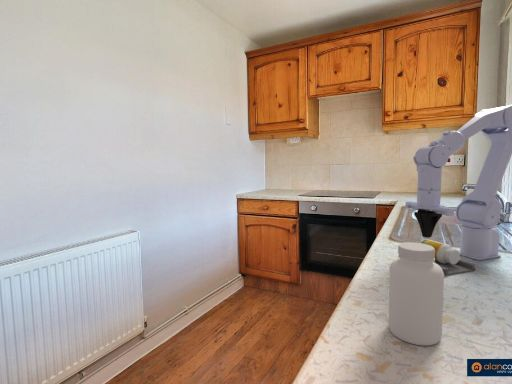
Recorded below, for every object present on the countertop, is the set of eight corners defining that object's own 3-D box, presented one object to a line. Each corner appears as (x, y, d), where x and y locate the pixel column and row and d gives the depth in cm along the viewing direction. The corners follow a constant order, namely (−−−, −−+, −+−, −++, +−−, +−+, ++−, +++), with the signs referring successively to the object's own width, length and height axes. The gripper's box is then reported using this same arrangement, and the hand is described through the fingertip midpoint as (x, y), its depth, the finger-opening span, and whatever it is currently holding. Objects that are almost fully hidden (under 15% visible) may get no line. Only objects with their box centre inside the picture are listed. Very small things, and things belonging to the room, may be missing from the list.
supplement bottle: (431, 239, 89) (463, 247, 80) (428, 256, 89) (460, 267, 80) (418, 237, 87) (449, 246, 78) (415, 256, 87) (446, 266, 78)
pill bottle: (379, 321, 54) (381, 240, 53) (421, 319, 55) (424, 239, 53) (404, 349, 46) (408, 254, 45) (453, 345, 47) (458, 252, 45)
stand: (437, 257, 88) (437, 252, 88) (474, 270, 78) (475, 264, 78) (410, 261, 85) (410, 256, 85) (445, 275, 75) (445, 269, 75)
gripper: (397, 187, 90) (396, 232, 91) (440, 192, 76) (438, 244, 77) (416, 186, 92) (414, 230, 93) (461, 191, 78) (458, 242, 79)
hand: (426, 236), depth 85 cm, fingers closed
